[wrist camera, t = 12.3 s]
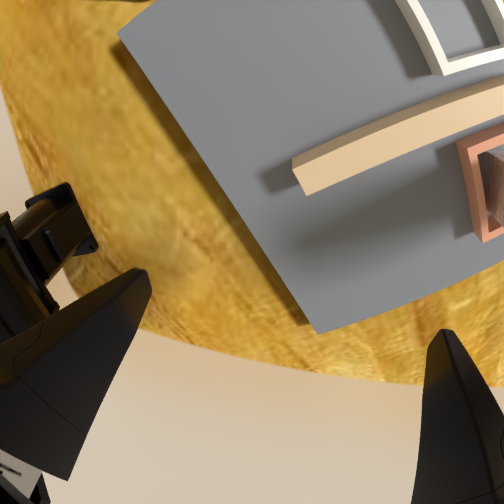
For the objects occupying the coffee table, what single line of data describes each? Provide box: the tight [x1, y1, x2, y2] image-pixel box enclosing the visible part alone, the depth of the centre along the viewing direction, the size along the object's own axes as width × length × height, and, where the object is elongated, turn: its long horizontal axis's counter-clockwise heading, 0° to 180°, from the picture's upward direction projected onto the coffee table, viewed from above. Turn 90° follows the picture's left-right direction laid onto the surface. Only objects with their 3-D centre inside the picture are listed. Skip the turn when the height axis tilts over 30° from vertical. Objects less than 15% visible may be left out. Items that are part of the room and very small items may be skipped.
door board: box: [117, 0, 504, 335], centre depth 14 cm, size 21×26×4 cm
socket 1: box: [395, 0, 504, 76], centre depth 9 cm, size 7×7×2 cm
